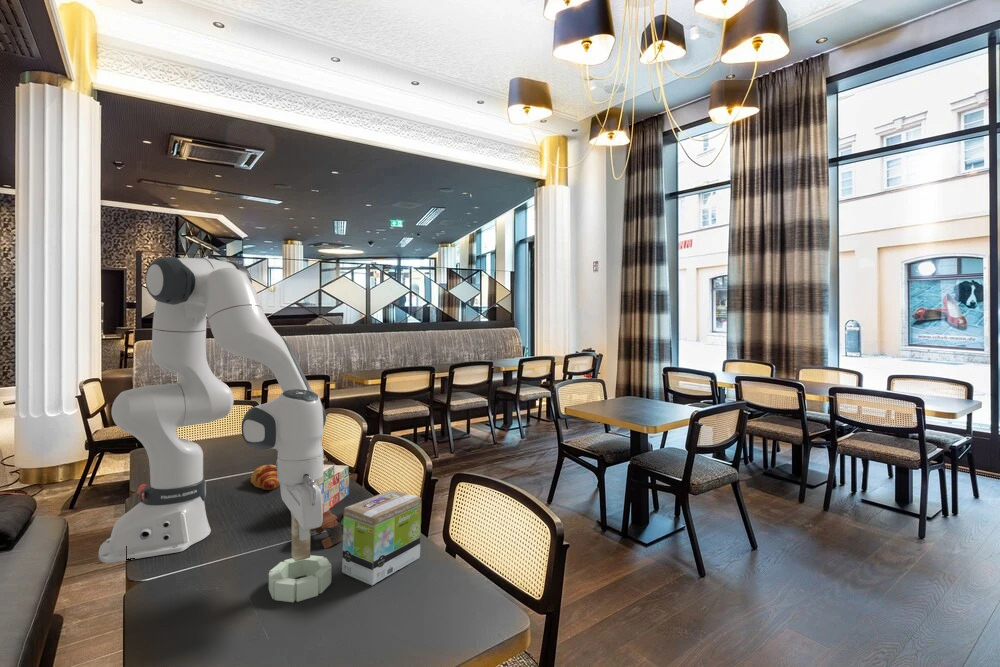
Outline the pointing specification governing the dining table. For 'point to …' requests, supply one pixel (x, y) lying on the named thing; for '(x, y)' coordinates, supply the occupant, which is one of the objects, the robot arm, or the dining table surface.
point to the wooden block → (299, 543)
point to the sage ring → (302, 588)
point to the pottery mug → (331, 528)
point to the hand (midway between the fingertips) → (300, 534)
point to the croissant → (265, 477)
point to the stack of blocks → (333, 485)
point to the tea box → (381, 535)
